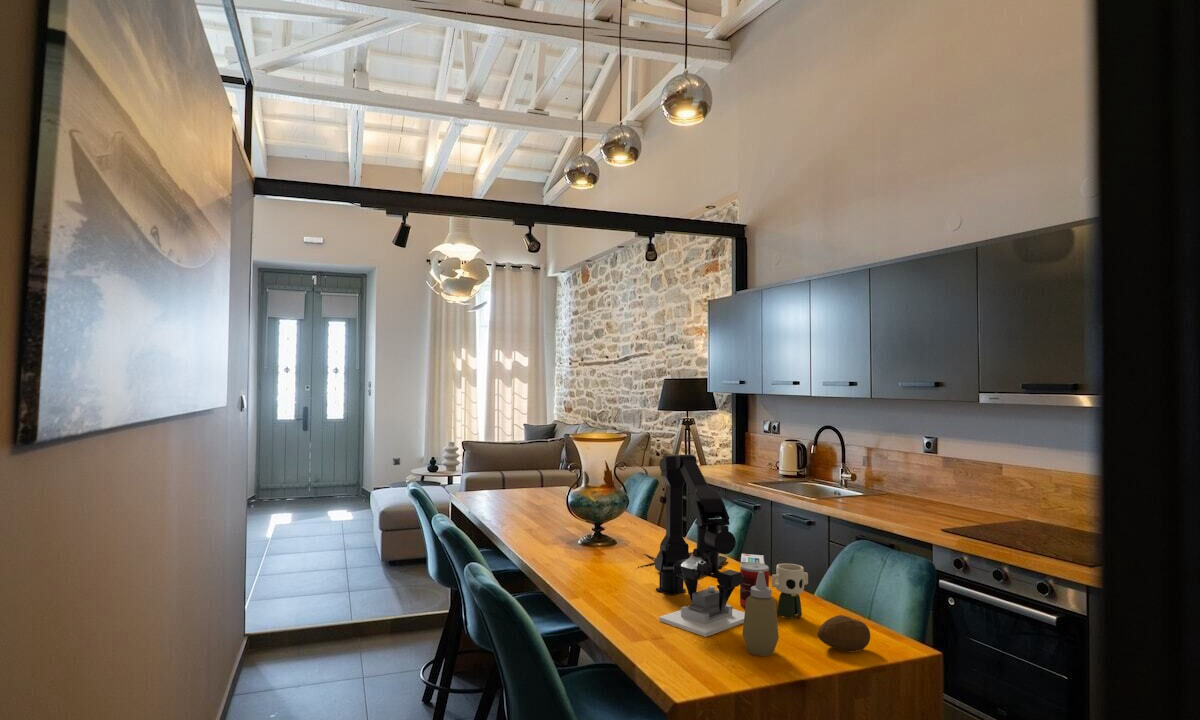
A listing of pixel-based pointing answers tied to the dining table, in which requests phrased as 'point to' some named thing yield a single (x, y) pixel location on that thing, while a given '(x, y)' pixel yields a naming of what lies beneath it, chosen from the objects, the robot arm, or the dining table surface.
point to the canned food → (751, 579)
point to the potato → (844, 633)
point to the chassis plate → (704, 620)
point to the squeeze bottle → (760, 620)
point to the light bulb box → (752, 558)
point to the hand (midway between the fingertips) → (706, 606)
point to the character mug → (789, 588)
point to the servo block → (706, 601)
